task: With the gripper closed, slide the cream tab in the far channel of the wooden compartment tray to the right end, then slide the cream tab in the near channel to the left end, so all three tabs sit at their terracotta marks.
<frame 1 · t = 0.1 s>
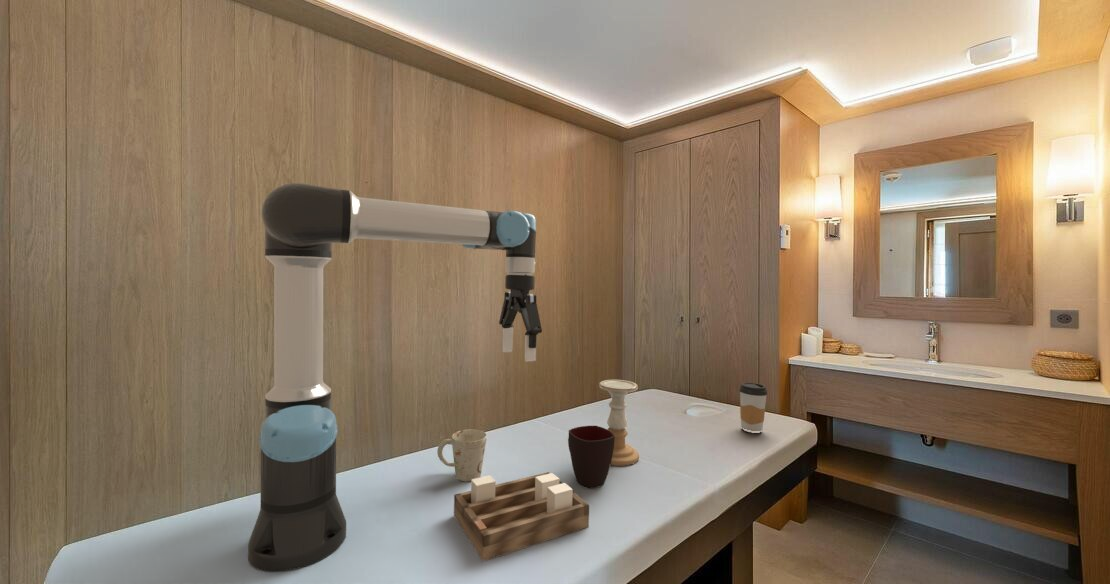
hand: (518, 356, 114), 28 cm above the table, fingers open, 13 cm apart
tab near: (559, 500, 86), point 5 cm above the table, slide at 0.0 cm
tab mid: (547, 489, 91), point 5 cm above the table, slide at 0.0 cm
candle holder: (616, 457, 120), on the table
mug 2: (585, 479, 107), on the table
tab far: (483, 492, 89), point 5 cm above the table, slide at 0.0 cm
wooden compartment tray: (520, 521, 88), on the table
coffee cup: (751, 431, 144), on the table
mug: (460, 475, 107), on the table
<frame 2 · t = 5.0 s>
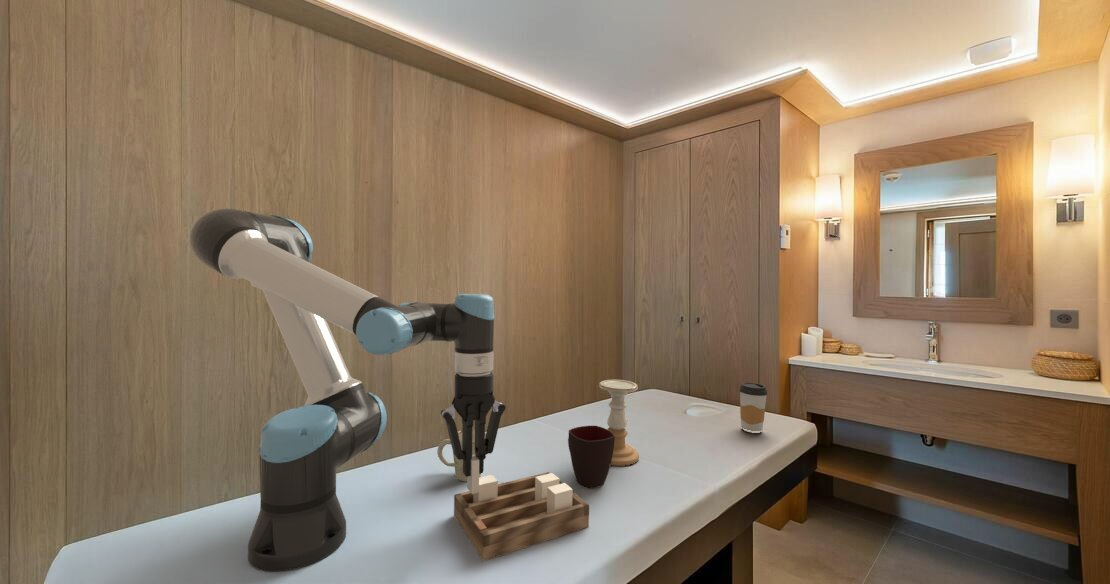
hand: (473, 490, 87), 6 cm above the table, fingers closed
tab far: (485, 492, 89), point 5 cm above the table, slide at 0.5 cm, touching gripper
everything else where it was.
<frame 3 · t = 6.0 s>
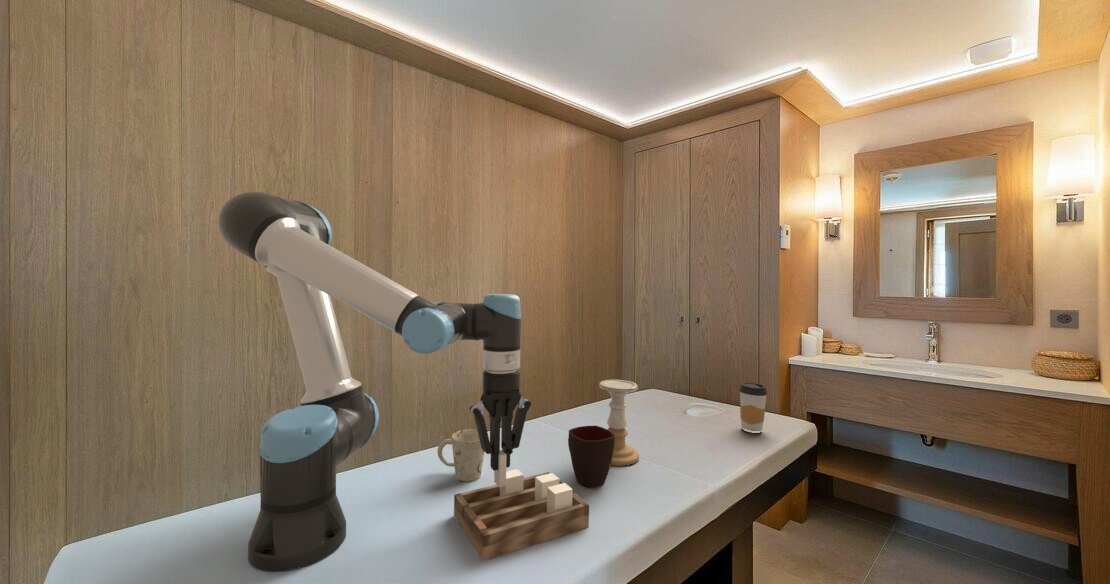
hand: (500, 483, 90), 6 cm above the table, fingers closed
tab far: (511, 485, 92), point 5 cm above the table, slide at 6.3 cm, touching gripper
everything else where it was.
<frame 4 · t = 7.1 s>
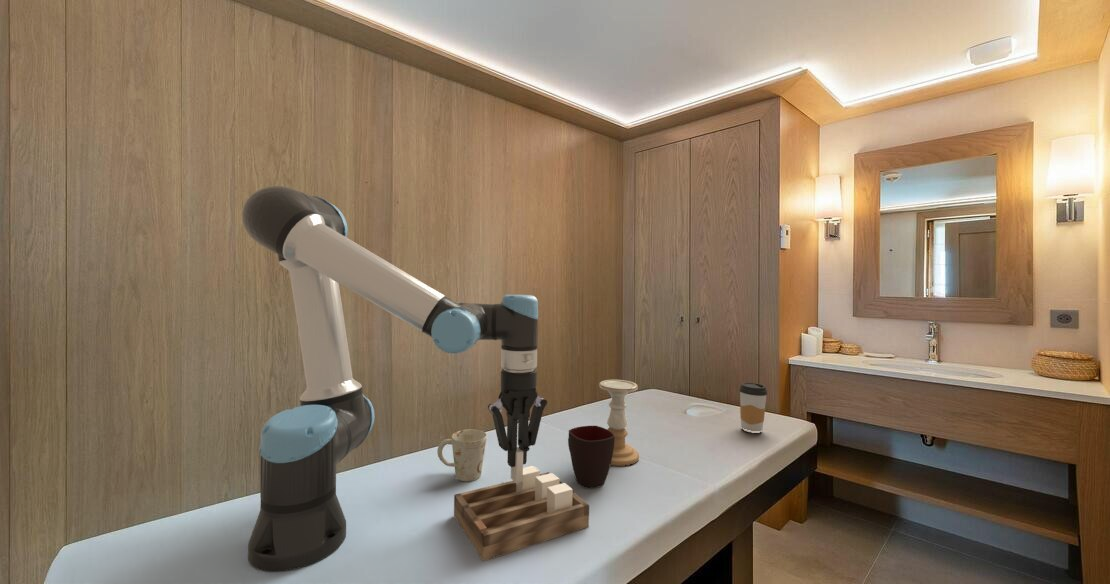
hand: (516, 480, 92), 6 cm above the table, fingers closed
tab far: (527, 481, 94), point 5 cm above the table, slide at 10.1 cm, touching gripper
everything else where it was.
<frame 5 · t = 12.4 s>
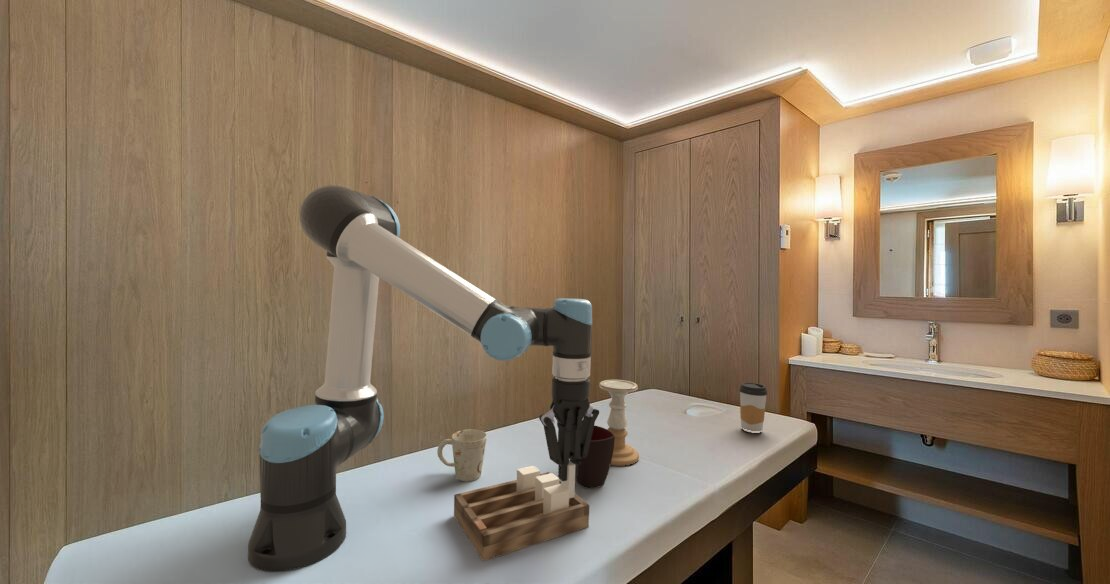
hand: (567, 494, 87), 6 cm above the table, fingers closed
tab near: (556, 501, 86), point 5 cm above the table, slide at 0.8 cm, touching gripper
tab far: (528, 481, 94), point 5 cm above the table, slide at 10.2 cm
everything else where it was.
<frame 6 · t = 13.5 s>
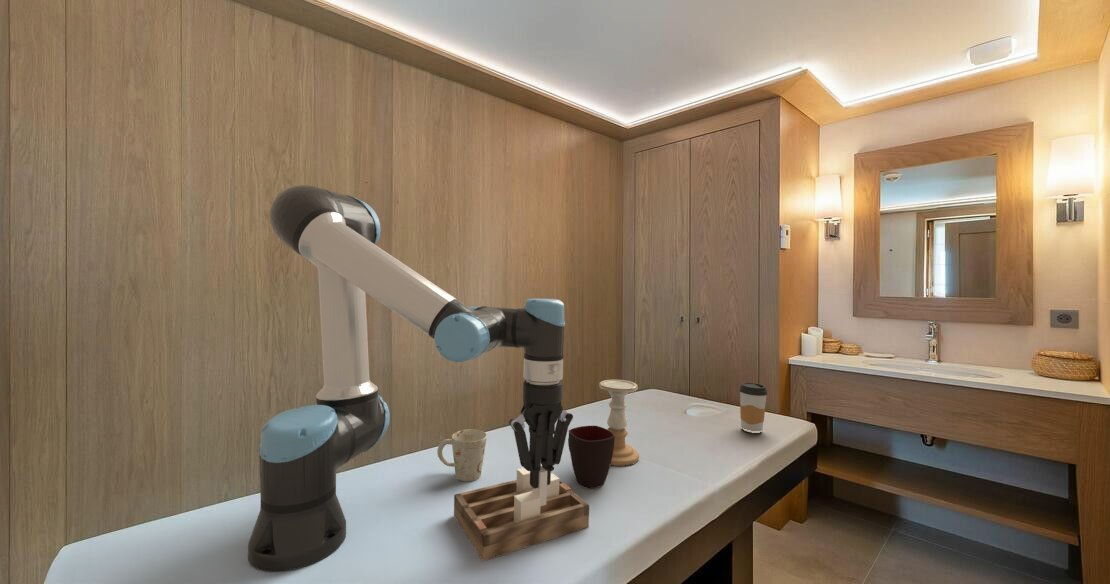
hand: (539, 502, 84), 6 cm above the table, fingers closed
tab near: (527, 509, 83), point 5 cm above the table, slide at 7.2 cm, touching gripper
everything else where it was.
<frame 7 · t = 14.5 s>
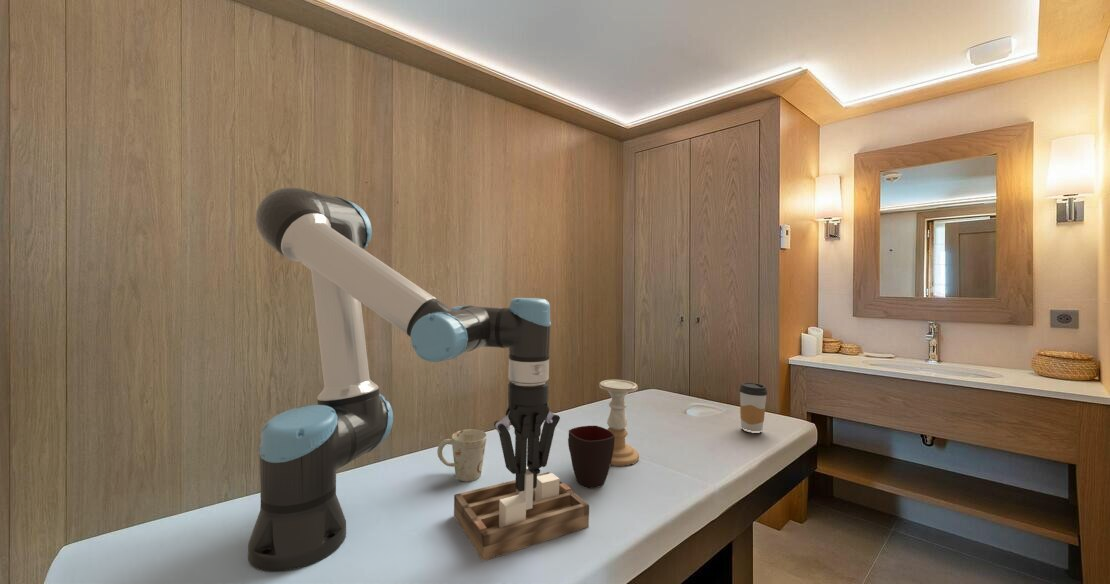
hand: (525, 505, 82), 6 cm above the table, fingers closed
tab near: (512, 514, 81), point 5 cm above the table, slide at 10.2 cm, touching gripper
everything else where it was.
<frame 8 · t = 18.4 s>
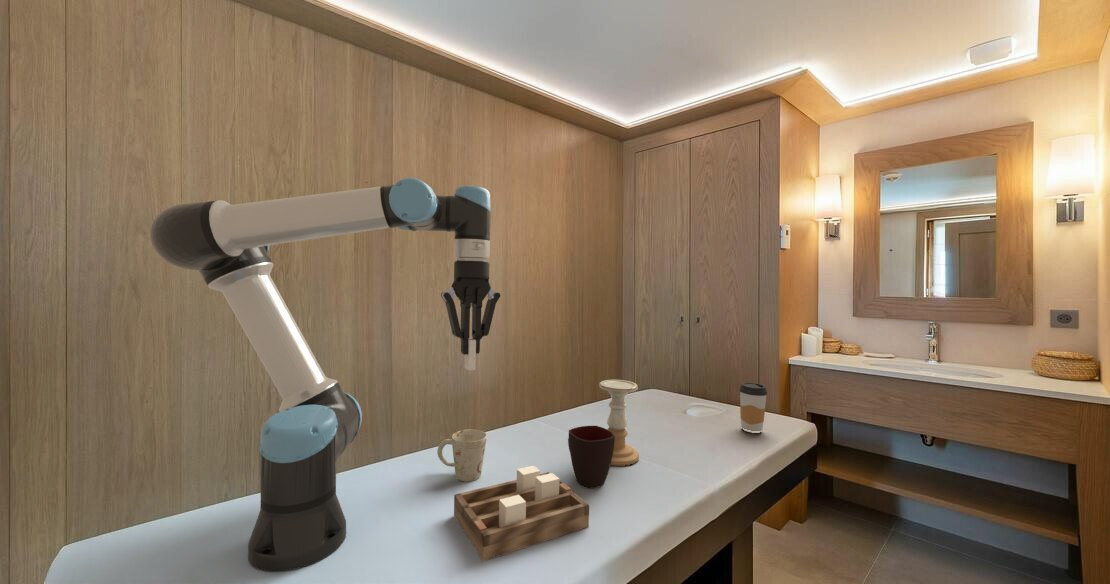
hand: (470, 368, 96), 28 cm above the table, fingers closed
tab near: (512, 514, 81), point 5 cm above the table, slide at 10.2 cm
everything else where it was.
at the end: tab far slide at 10.2 cm; tab near slide at 10.2 cm; tab mid slide at 0.0 cm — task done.
